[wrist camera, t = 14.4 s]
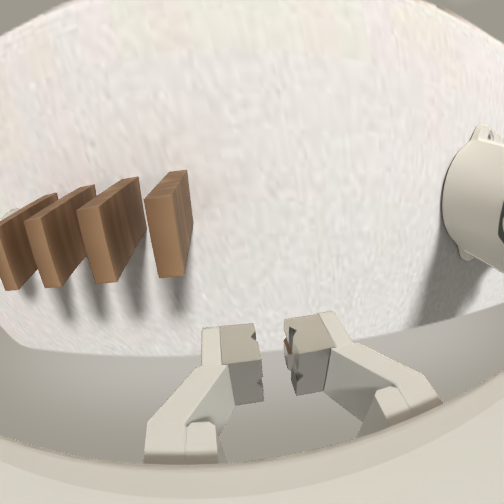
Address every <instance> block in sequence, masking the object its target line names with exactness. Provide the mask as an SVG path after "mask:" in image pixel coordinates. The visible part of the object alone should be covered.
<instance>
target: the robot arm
mask: <svg viewBox="0 0 504 504" xmlns="http://www.w3.org/2000/svg"><path fill="white" fill-rule="evenodd" d="M442 209H443V219H444V223H445V227H446V230H447V232H448V234H449V235H450V237H451V238H452V239H453V240H454V241H455V243H456V244H457V245H458V249H459V253H460V256H461V258H462V259H463V260H465V261H470V260H472V259H474V258H478V259H479V260H481V261H483V262H484V263H486V264H488V265H490V266H491V267H493V268H495V269H496V270H498V271H500V272H502V273H504V138H503V137H502V136H501V135H499V134H498V133H496V132H495V131H493V130H492V129H491V128H489V127H488V126H486V125H483V124H479V125H478V126H477V127H476V129H475V131H474V133H473V135H472V138H471V140H470V141H469V142H468V143H467V144H466V145H465V146H463V147H462V148H461V149H460V151H459V152H458V153H457V155H456V156H455V158H454V160H453V161H452V163H451V166H450V168H449V171H448V174H447V177H446V181H445V185H444V191H443V201H442ZM284 332H285V335H286V338H285V340H284V355H285V360H286V365H287V368H288V369H289V370H290V371H291V381H292V384H293V387H294V390H295V393H296V396H298V395H304V394H310V393H315V392H321V391H324V393H325V394H327V395H328V396H329V397H331V398H332V399H333V400H335V401H336V402H337V403H338V404H339V405H341V406H342V407H343V408H345V409H346V410H347V411H349V412H350V413H351V414H352V415H354V416H355V417H357V418H358V419H359V420H361V421H362V422H363V424H362V426H361V428H360V431H359V433H358V435H357V437H356V438H355V439H351V440H349V441H345V442H341V443H338V444H334V445H330V446H326V447H322V448H318V449H313V450H309V451H305V452H300V453H295V454H289V455H284V456H278V457H273V458H265V459H259V460H250V461H243V462H231V463H227V460H226V457H225V455H224V452H223V448H222V445H221V442H220V439H219V435H220V433H221V431H222V430H223V428H224V426H225V425H226V423H227V421H228V419H229V417H230V416H231V414H232V412H233V410H234V408H235V405H242V404H248V403H255V402H262V401H263V399H264V397H263V384H262V379H261V378H262V362H261V355H260V350H259V346H258V342H257V341H256V333H255V327H254V324H253V323H249V324H238V325H227V326H220V327H219V326H217V327H206V328H203V329H202V337H201V367H196V368H195V369H194V370H193V372H192V373H191V374H190V375H189V376H188V377H187V378H186V380H185V381H184V382H183V383H182V384H181V385H180V386H179V388H178V389H177V390H176V391H175V392H174V393H173V394H172V395H171V397H170V398H169V399H168V400H167V401H166V402H165V403H164V404H163V406H162V407H161V408H160V409H159V410H158V411H157V412H156V414H154V416H153V417H152V418H151V419H150V420H149V421H148V424H147V433H146V441H145V451H144V461H143V464H140V463H127V462H117V461H109V460H101V459H94V458H88V457H82V456H77V455H72V454H67V453H61V452H57V451H53V450H49V449H45V448H41V447H38V446H34V445H31V444H27V443H24V442H21V441H17V440H14V439H11V438H8V437H5V436H3V435H0V504H504V369H503V370H501V371H500V372H498V373H497V374H495V375H493V376H492V377H490V378H489V379H487V380H485V381H484V382H482V383H480V384H479V385H477V386H475V387H474V388H472V389H470V390H468V391H466V392H465V393H463V394H461V395H459V396H457V397H455V398H453V399H452V400H450V401H448V402H446V403H444V404H443V403H442V401H441V400H440V398H439V397H438V395H437V394H436V392H435V391H434V389H433V388H432V386H431V385H430V384H429V382H428V381H427V379H426V378H425V377H424V375H423V374H422V373H420V372H418V371H416V370H414V369H411V368H409V367H407V366H405V365H403V364H401V363H399V362H397V361H395V360H393V359H391V358H388V357H387V356H384V355H382V354H380V353H378V352H376V351H374V350H372V349H370V348H368V347H366V346H364V345H362V344H360V343H353V341H352V340H351V338H350V336H349V335H348V333H347V331H346V330H345V328H344V327H343V325H342V323H341V322H340V320H339V318H338V317H337V315H336V314H335V312H334V311H327V312H322V313H317V314H314V315H307V316H301V317H295V318H288V319H285V320H284Z"/></svg>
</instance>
